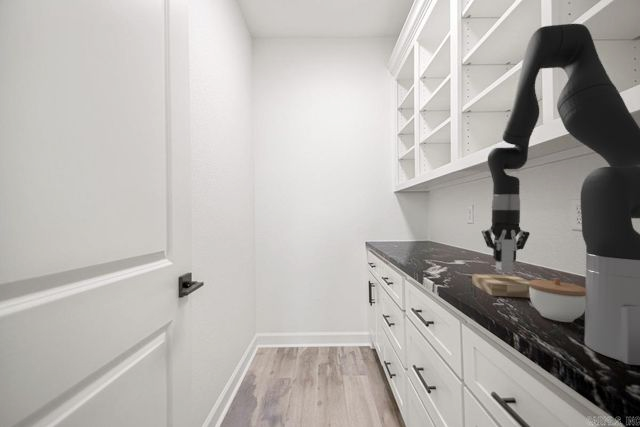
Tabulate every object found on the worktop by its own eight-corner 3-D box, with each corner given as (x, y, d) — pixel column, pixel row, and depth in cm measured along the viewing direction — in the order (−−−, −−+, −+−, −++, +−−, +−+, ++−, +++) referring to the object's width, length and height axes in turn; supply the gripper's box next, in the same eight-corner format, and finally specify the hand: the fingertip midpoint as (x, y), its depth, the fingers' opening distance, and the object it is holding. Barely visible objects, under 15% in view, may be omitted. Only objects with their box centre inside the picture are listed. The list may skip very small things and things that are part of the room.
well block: (542, 298, 80) (542, 286, 80) (491, 295, 82) (492, 283, 82) (514, 285, 94) (514, 275, 94) (471, 283, 96) (472, 273, 96)
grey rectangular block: (513, 271, 86) (513, 239, 86) (501, 270, 86) (501, 239, 86) (507, 268, 89) (507, 238, 89) (495, 268, 90) (496, 238, 90)
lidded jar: (533, 320, 63) (534, 280, 63) (524, 306, 72) (524, 271, 72) (596, 330, 58) (597, 286, 58) (577, 314, 67) (578, 276, 67)
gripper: (488, 208, 85) (486, 263, 85) (537, 209, 83) (535, 265, 83) (477, 208, 92) (476, 259, 92) (522, 209, 90) (521, 260, 91)
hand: (504, 261), depth 88 cm, fingers closed on grey rectangular block, 3 cm apart
